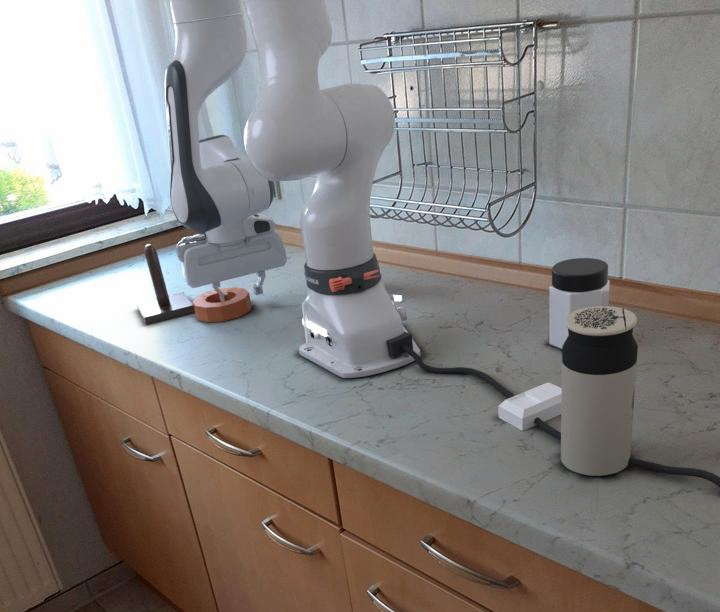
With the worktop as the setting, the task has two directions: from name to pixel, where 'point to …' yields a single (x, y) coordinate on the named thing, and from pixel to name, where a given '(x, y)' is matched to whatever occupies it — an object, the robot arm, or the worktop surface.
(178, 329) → the worktop surface
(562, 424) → the travel mug
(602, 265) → the jar
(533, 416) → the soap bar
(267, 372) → the worktop surface
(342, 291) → the robot arm
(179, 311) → the peg stand
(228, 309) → the ring
